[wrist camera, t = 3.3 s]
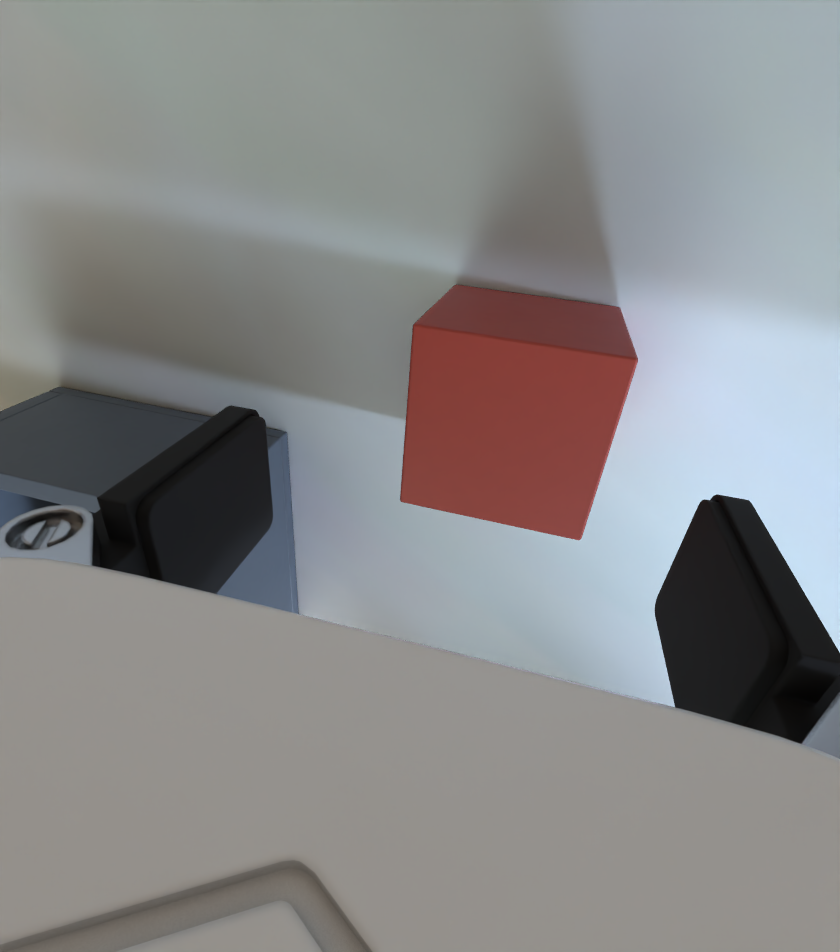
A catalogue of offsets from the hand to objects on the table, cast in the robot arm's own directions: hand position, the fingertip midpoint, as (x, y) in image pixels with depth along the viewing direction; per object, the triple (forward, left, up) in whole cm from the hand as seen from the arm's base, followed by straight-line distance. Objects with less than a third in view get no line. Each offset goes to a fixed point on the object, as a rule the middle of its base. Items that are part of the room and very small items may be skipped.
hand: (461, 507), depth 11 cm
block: (-1, 0, -9) cm, 9 cm away
